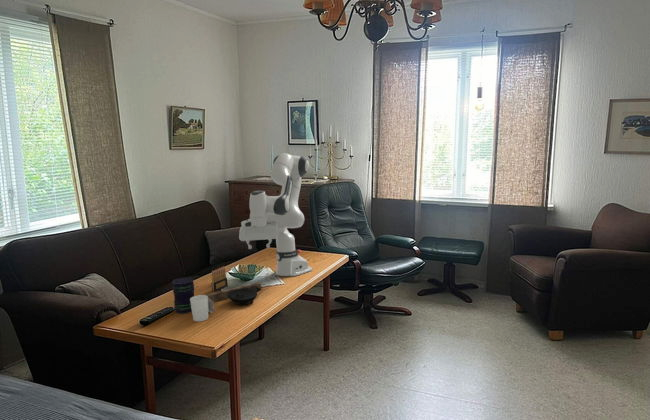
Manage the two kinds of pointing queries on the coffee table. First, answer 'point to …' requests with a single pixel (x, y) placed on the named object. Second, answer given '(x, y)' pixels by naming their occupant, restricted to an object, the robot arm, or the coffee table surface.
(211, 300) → the bracket
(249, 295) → the oil lamp
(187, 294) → the storage jar
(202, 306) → the white cup
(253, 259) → the coffee table surface
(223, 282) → the ammunition clip
